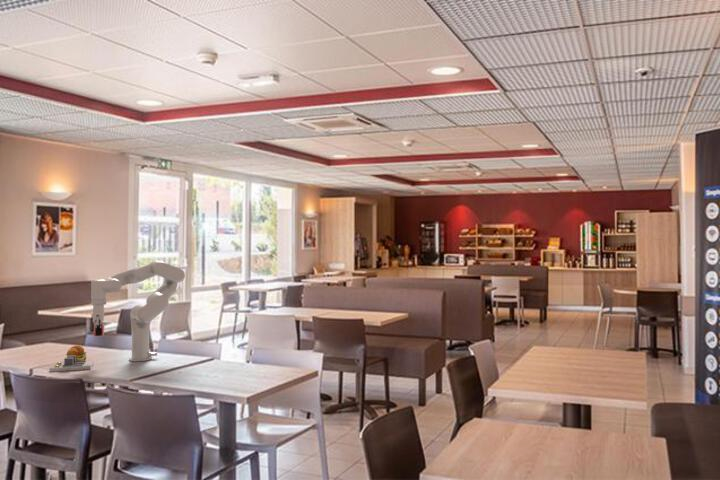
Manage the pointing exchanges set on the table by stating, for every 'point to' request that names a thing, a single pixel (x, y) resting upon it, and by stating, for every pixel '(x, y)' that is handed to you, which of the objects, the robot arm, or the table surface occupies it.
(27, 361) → the table surface
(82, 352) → the cheeseburger
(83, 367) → the panel
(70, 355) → the breaker
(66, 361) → the breaker
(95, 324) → the red rectangular block
